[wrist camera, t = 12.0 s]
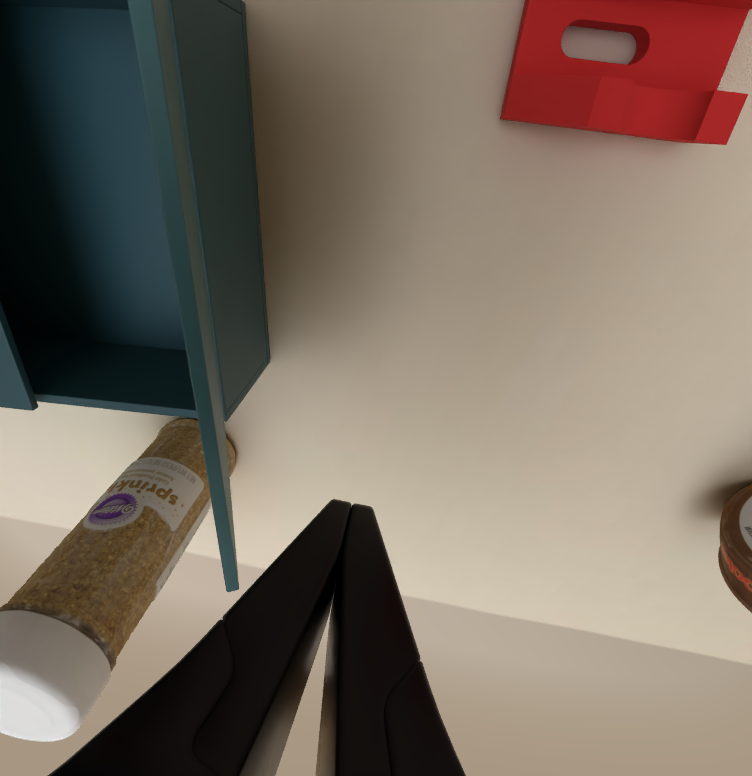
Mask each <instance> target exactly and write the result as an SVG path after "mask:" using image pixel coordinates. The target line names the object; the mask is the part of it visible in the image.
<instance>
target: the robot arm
mask: <svg viewBox="0 0 752 776" xmlns="http://www.w3.org/2000/svg"><path fill="white" fill-rule="evenodd" d="M333 596H334V597H333ZM332 601H333V602H332ZM331 605H332V608H331ZM330 609H331V614H330V622H329V632H328V642H327V654H326V666H325V677H324V687H323V698H322V699H323V700H322V711H321V722H320V732H319V744H318V755H317V766H316V776H466V775H465V773H464V771H463V768H462V766H461V764H460V762H459V759H458V757H457V755H456V752H455V750H454V748H453V745H452V743H451V741H450V738H449V736H448V733H447V731H446V728H445V726H444V724H443V721H442V719H441V716H440V714H439V711H438V708H437V705H436V702H435V699H434V697H433V694H432V691H431V688H430V685H429V682H428V679H427V676H426V673H425V670H424V667H423V663H422V662H421V661H420V655H419V652H418V648H417V645H416V642H415V639H414V636H413V633H412V630H411V626H410V623H409V620H408V617H407V614H406V611H405V608H404V605H403V601H402V598H401V595H400V592H399V589H398V586H397V582H396V579H395V576H394V573H393V570H392V567H391V564H390V560H389V557H388V554H387V551H386V548H385V545H384V542H383V539H382V535H381V532H380V529H379V526H378V523H377V520H376V517H375V513H374V510H373V509H372V507H370V506H366V505H361V504H353V505H352V507H351V503H350V502H346V501H341V500H336V499H333V500H331V501H330V502H329V503H328V504H327V505H326V506H325V507H324V508H323V509H322V510H321V511H320V513H319V514H318V515H317V516H316V517H315V518H314V519H313V520H312V521H311V522H310V523H309V524H308V525H307V527H306V528H305V529H304V530H303V531H302V532H301V533H300V534H299V535H298V536H297V537H296V538H295V539H294V540H293V542H292V543H291V544H290V545H289V546H288V547H287V548H286V549H285V550H284V551H283V552H282V553H281V554H280V556H279V557H278V558H277V559H276V560H275V561H274V562H273V563H272V564H271V565H270V566H269V567H268V568H267V570H266V571H265V572H264V573H263V574H262V575H261V576H260V577H259V578H258V579H257V580H256V581H255V582H254V584H253V585H252V586H251V587H250V588H249V589H248V590H247V591H246V592H245V593H244V594H243V595H242V596H241V598H240V599H239V600H238V601H237V602H236V603H235V604H234V605H233V606H232V607H231V609H229V611H227V613H226V614H225V615H224V616H223V620H219V621H218V622H217V623H216V624H215V625H214V626H213V627H212V629H211V630H210V631H209V632H208V633H207V634H206V635H205V636H204V637H203V638H202V639H201V640H200V641H199V642H198V643H197V644H196V645H195V646H194V647H193V648H192V649H191V650H190V651H189V652H188V653H187V654H186V655H185V656H184V658H182V659H181V660H180V662H178V663H177V664H176V665H175V666H174V667H173V668H172V669H171V670H169V671H168V672H167V673H166V674H165V675H164V676H163V677H162V678H161V679H160V680H159V681H157V682H156V683H155V684H154V685H153V686H152V687H151V688H150V689H149V690H147V691H146V692H145V693H144V694H143V695H142V696H141V697H140V698H139V699H137V700H136V701H135V702H134V703H133V704H131V705H130V706H129V707H128V708H127V709H126V710H124V712H122V713H121V714H120V715H119V716H118V717H116V718H115V719H114V720H113V721H112V722H111V723H110V724H108V725H107V726H106V727H105V728H104V729H103V730H102V731H100V732H99V733H98V734H97V735H96V736H95V737H94V738H92V739H91V740H90V741H89V742H88V743H87V744H86V745H84V746H83V747H82V748H81V749H80V750H79V751H77V752H76V753H75V754H74V755H73V756H72V757H71V758H69V759H68V760H67V761H66V762H65V763H63V764H62V765H61V766H60V767H58V768H57V769H56V770H54V771H53V772H52V773H51V774H49V775H48V776H275V774H276V771H277V768H278V766H279V763H280V759H281V757H282V753H283V751H284V748H285V745H286V741H287V739H288V736H289V733H290V730H291V727H292V724H293V721H294V718H295V715H296V712H297V709H298V706H299V703H300V700H301V697H302V694H303V691H304V688H305V686H306V683H307V680H308V676H309V674H310V671H311V668H312V665H313V662H314V659H315V656H316V653H317V650H318V647H319V644H320V641H321V638H322V635H323V632H324V629H325V626H326V623H327V620H328V617H329V613H330Z"/></svg>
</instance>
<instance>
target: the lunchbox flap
mask: <svg viewBox="0 0 752 776" xmlns="http://www.w3.org/2000/svg"><path fill="white" fill-rule="evenodd" d="M127 1H128V7H129V13H130V19H131V25H132V31H133V37H134V43H135V49H136V55H137V61H138V67H139V73H140V79H141V85H142V91H143V97H144V103H145V109H146V115H147V120H148V126H149V132H150V138H151V144H152V150H153V156H154V162H155V168H156V174H157V180H158V186H159V192H160V198H161V204H162V210H163V216H164V222H165V228H166V234H167V240H168V246H169V252H170V258H171V263H172V269H173V275H174V281H175V287H176V293H177V299H178V305H179V311H180V317H181V323H182V329H183V335H184V341H185V347H186V353H187V359H188V365H189V371H190V377H191V383H192V389H193V395H194V401H195V406H196V412H197V418H198V424H199V430H200V436H201V442H202V448H203V454H204V460H205V466H206V472H207V478H208V484H209V490H210V496H211V502H212V508H213V514H214V520H215V526H216V532H217V538H218V544H219V549H220V555H221V561H222V567H223V573H224V579H225V585H226V591H227V592H231V591H234V590H238V589H239V582H238V571H237V559H236V548H235V536H234V525H233V513H232V502H231V490H230V479H229V467H228V456H227V444H226V433H225V424H224V417H223V409H222V402H221V394H220V387H219V380H218V372H217V365H216V357H215V350H214V342H213V335H212V328H211V320H210V313H209V305H208V298H207V290H206V283H205V276H204V268H203V261H202V253H201V246H200V239H199V231H198V224H197V216H196V209H195V201H194V194H193V187H192V179H191V172H190V164H189V157H188V149H187V142H186V135H185V127H184V120H183V112H182V105H181V97H180V90H179V83H178V75H177V68H176V60H175V53H174V46H173V38H172V31H171V23H170V16H169V8H168V1H167V0H127Z"/></svg>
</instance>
